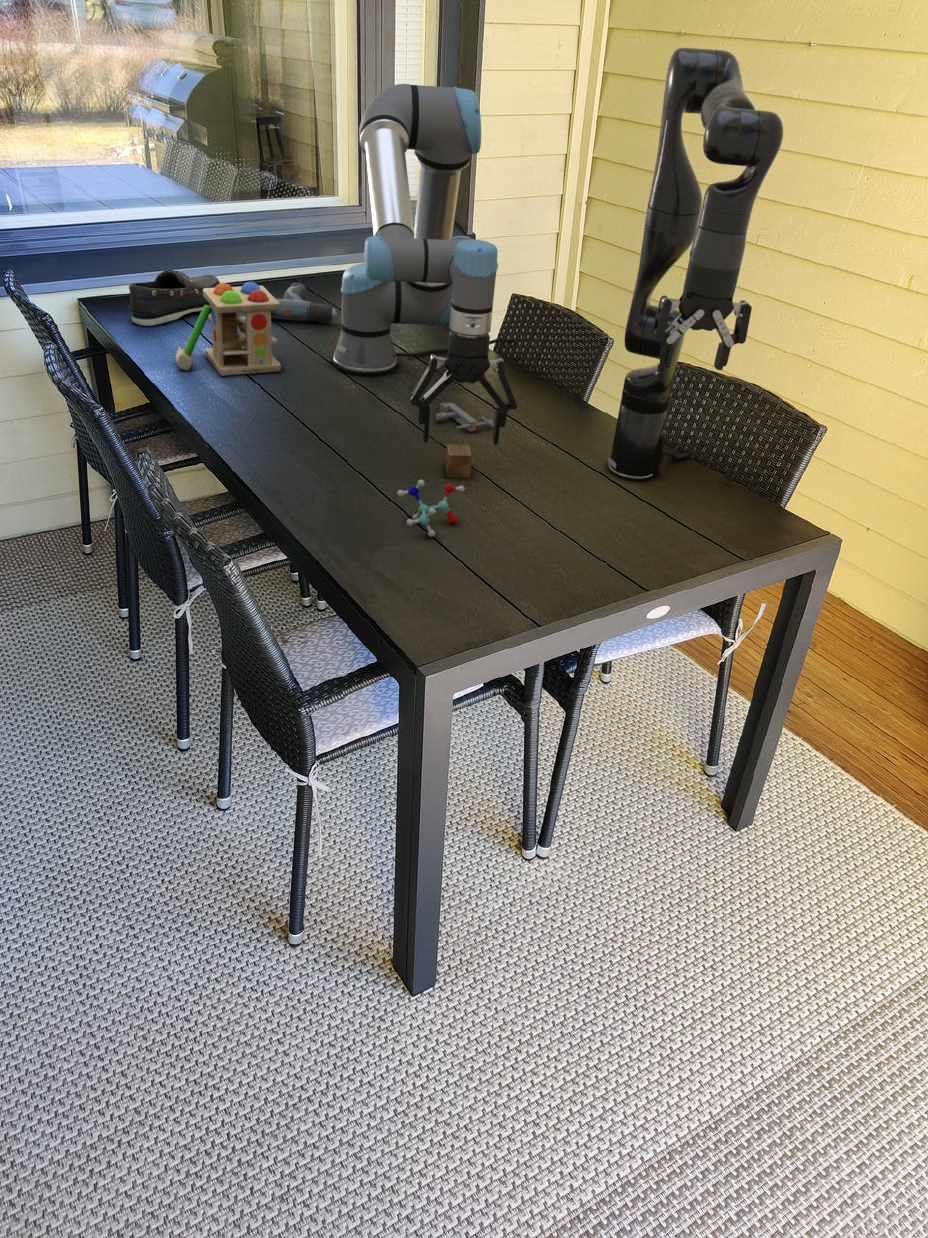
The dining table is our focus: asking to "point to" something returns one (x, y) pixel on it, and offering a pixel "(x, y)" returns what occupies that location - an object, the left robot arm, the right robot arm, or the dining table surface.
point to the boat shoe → (168, 297)
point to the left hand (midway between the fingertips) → (460, 440)
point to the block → (458, 461)
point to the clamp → (461, 417)
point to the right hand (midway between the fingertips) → (691, 366)
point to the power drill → (301, 307)
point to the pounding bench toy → (229, 347)
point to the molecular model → (424, 508)
